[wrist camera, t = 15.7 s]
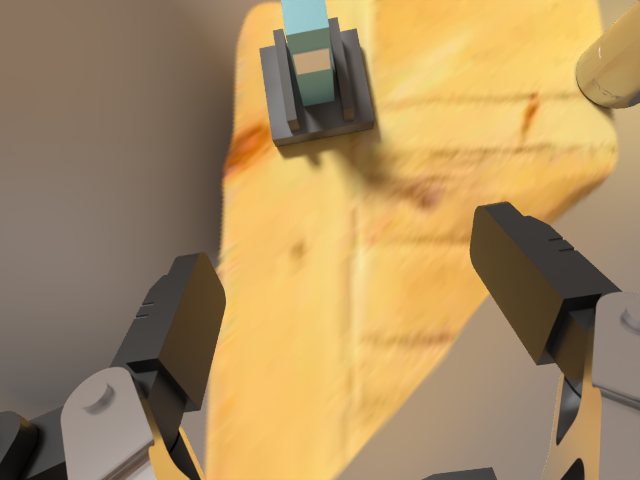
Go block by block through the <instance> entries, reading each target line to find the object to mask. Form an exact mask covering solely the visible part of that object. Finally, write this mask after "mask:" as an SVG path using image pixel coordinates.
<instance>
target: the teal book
mask: <svg viewBox="0 0 640 480" xmlns="http://www.w3.org/2000/svg"><path fill="white" fill-rule="evenodd" d="M281 4H282V11H283V19H284V26H285V33H286V38H287V42H288V46H289V50H290V54H291V58H292V62H293V66H294V70H295V74H296V78H297V82H298V86H299V90H300V94H301V98H302V102H303V106H309V105H314V104H320V103H326V102H331V101H335V99H334V86H333V72H332V59H331V45H330V32H329V23H328V17H327V10H326V4H325V0H281Z"/></svg>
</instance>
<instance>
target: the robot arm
mask: <svg viewBox="0 0 640 480" xmlns="http://www.w3.org/2000/svg"><path fill="white" fill-rule="evenodd" d="M576 78H577V82H578V85H579V87H580V88H581V90H582V92H583V93H584V94H585V95H586V96H587V97H588V98H589V99H591V100H592V101H593V102H595V103H597V104H599V105H601V106H605V107H608V108H616V109H618V108H627V107H631V106H634V105H636V104H638V103H640V0H637V1H636V2H635V3H634V4H633V5H632V6H631V7H630V8H629V9H628V10H627V11H626V12H625V13H624V14H623V15H622V16H621V17H620V18H619V19H618V20H617V21H616V22H615V23H614V24H613V25H612V26H611V27H610V28H609V29H608V30H607V31H606V32H605V33H604V34H602V35H601V36H600V37H599V38H598V39H597V40H596V41H595V42H594V43H593V44H592V45H591V46H590V47H589V48H588V49H587V50H586V51H585V52H584V54H583V55H582V56H581V57H580V59H579V61H578V64H577V68H576ZM562 238H563V237H561V235H559V234H558V233H557V232H556V231H555V230H554V229H553V228H552V227H551V226H550V225H548V224H546V223H544V222H542V221H540V220H538V219H536V218H534V217H531V216H523V215H522V214H521V213H520V212H519V211H518V210H517V209H516V208H515V207H514V206H513V205H511V204H510V203H509V202H500V203H494V204H488V205H482V206H478V207H477V208H476V210H475V213H474V220H473V228H472V235H471V243H470V258H471V262H472V265H473V267H474V269H475V270H476V272H477V274H478V275H479V277H480V278H481V280H482V281H483V283H484V284H485V286H486V287H487V289H488V291H489V292H490V294H491V295H492V297H493V298H494V300H495V301H496V303H497V304H498V306H499V308H500V309H501V311H502V312H503V314H504V315H505V317H506V318H507V320H508V321H509V323H510V325H511V326H512V328H513V329H514V331H515V332H516V334H517V335H518V337H519V339H520V340H521V342H522V343H523V345H524V346H525V348H526V349H527V351H528V353H529V354H530V356H531V357H532V359H533V360H534V362H535V363H536V365H544V364H551V363H556V364H557V365H558V367H559V368H560V370H561V371H562V374H561V376H560V379H559V385H558V392H557V399H556V407H555V415H554V421H553V430H552V436H551V443H550V450H549V454H548V458H547V462H546V464H545V467H544V471H543V474H542V478H541V480H640V294H637V293H630V292H622V291H621V290H620V289H619V288H618V287H617V286H616V285H614V284H613V283H612V282H611V281H610V280H609V279H608V278H607V277H606V276H605V275H603V274H602V273H601V272H600V271H599V270H598V269H597V268H596V267H595V266H594V265H592V264H591V263H590V262H589V261H588V260H587V259H586V258H585V257H584V256H583V255H581V254H580V253H579V252H578V251H575V250H574V247H573V246H571V245H570V244H569V243H568V242H567V241H566V240H563V239H562ZM142 305H143V306H142V307H140V309H139V312H138V313H137V315H136V319H134V321H133V323H132V325H131V327H130V329H129V330H128V332H127V334H126V336H125V338H124V340H123V342H122V344H121V346H120V348H119V350H118V352H117V354H116V356H115V358H114V359H113V362H112V363H111V365H110V367H109V368H107V369H105V370H102V371H100V372H97V373H96V374H94V375H92V376H91V377H89V378H88V379H86V380H85V381H84V382H83V383H82V384H81V385H79V386H78V387H77V388H76V390H75V391H74V392H73V393H72V394H71V396H70V397H69V398H68V400H67V402H66V403H65V405H64V406H62V407H60V408H58V409H55V410H53V411H51V412H48V413H46V414H44V415H41V416H39V417H37V418H35V419H32V420H30V421H28V420H26V419H25V418H23V417H22V416H20V415H18V414H17V413H15V412H11V411H6V412H1V413H0V480H206V478H205V476H204V474H203V472H202V470H201V467H200V465H199V463H198V461H197V459H196V457H195V454H194V452H193V450H192V448H191V446H190V444H189V441H188V439H187V437H186V435H185V432H184V430H183V429H182V427H181V426H180V424H181V420H182V416H183V413H184V412H192V411H199V410H201V406H202V401H203V397H204V393H205V389H206V385H207V381H208V377H209V373H210V368H211V364H212V360H213V356H214V352H215V348H216V344H217V340H218V335H219V331H220V327H221V323H222V319H223V315H224V311H225V306H226V297H225V292H224V288H223V286H222V284H221V282H220V280H219V278H218V276H217V274H216V272H215V270H214V268H213V266H212V264H211V262H210V260H209V258H208V256H207V255H206V254H205V253H203V252H201V253H195V254H190V255H183V256H178V257H177V258H176V259H175V260H174V262H173V265H172V267H171V269H170V271H169V273H168V275H164V276H162V277H161V278H160V279H159V280H158V281H157V282H156V283H155V284H154V285H153V286H152V288H151V289H150V290H149V292H148V294H147V296H146V298H145V299H144V302H143V303H142ZM423 480H497V478H496V476H495V473H494V471H493V469H492V467H490V468H482V469H474V470H465V471H458V472H449V473H440V474H434V475H431V476H429V477H427V478H425V479H423Z"/></svg>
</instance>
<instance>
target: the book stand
mask: <svg viewBox="0 0 640 480" xmlns="http://www.w3.org/2000/svg"><path fill="white" fill-rule="evenodd" d="M328 23H329V32H330V45H331V59H332V72H333V86H334V99H335V101H331V102H326V103H320V104H314V105H309V106H303V102H302V98H301V94H300V90H299V86H298V82H297V78H296V74H295V70H294V66H293V62H292V58H291V54H290V50H289V46H288V43H286V40H285V36H284V32H283V29H279V30H274V31H273V33H274V40H275V46H270V47H265V48H260V56H261V63H262V70H263V77H264V84H265V91H266V98H267V105H268V112H269V119H270V126H271V133H272V140H273V142H274V144H275V146H281V145H287V144H292V143H297V142H303V141H308V140H313V139H319V138H324V137H329V136H335V135H340V134H345V133H351V132H356V131H361V130H366V129H372V128H373V126H374V116H373V111H372V106H371V101H370V96H369V91H368V85H367V80H366V75H365V70H364V65H363V60H362V54H361V49H360V44H359V39H358V34H357V29H352V30H347V31H342V32H340V29H339V23H338V18H337V17H336V18H331V19H328Z"/></svg>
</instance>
